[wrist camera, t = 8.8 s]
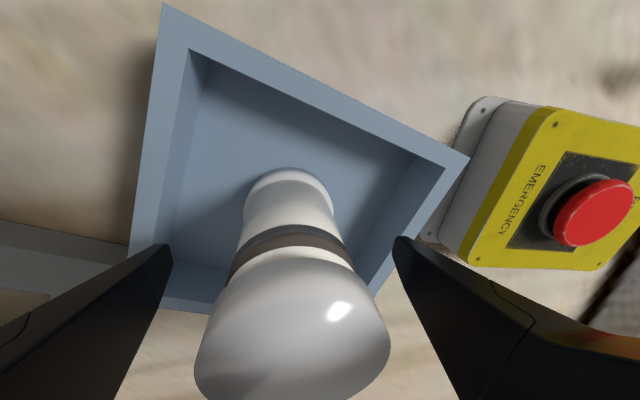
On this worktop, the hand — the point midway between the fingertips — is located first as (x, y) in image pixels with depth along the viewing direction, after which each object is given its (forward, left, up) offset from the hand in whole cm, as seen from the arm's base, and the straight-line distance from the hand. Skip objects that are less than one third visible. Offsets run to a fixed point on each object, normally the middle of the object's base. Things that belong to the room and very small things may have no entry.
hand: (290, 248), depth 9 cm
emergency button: (+6, -15, -5) cm, 17 cm away
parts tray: (0, 0, -4) cm, 4 cm away
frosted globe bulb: (0, 0, -4) cm, 4 cm away
